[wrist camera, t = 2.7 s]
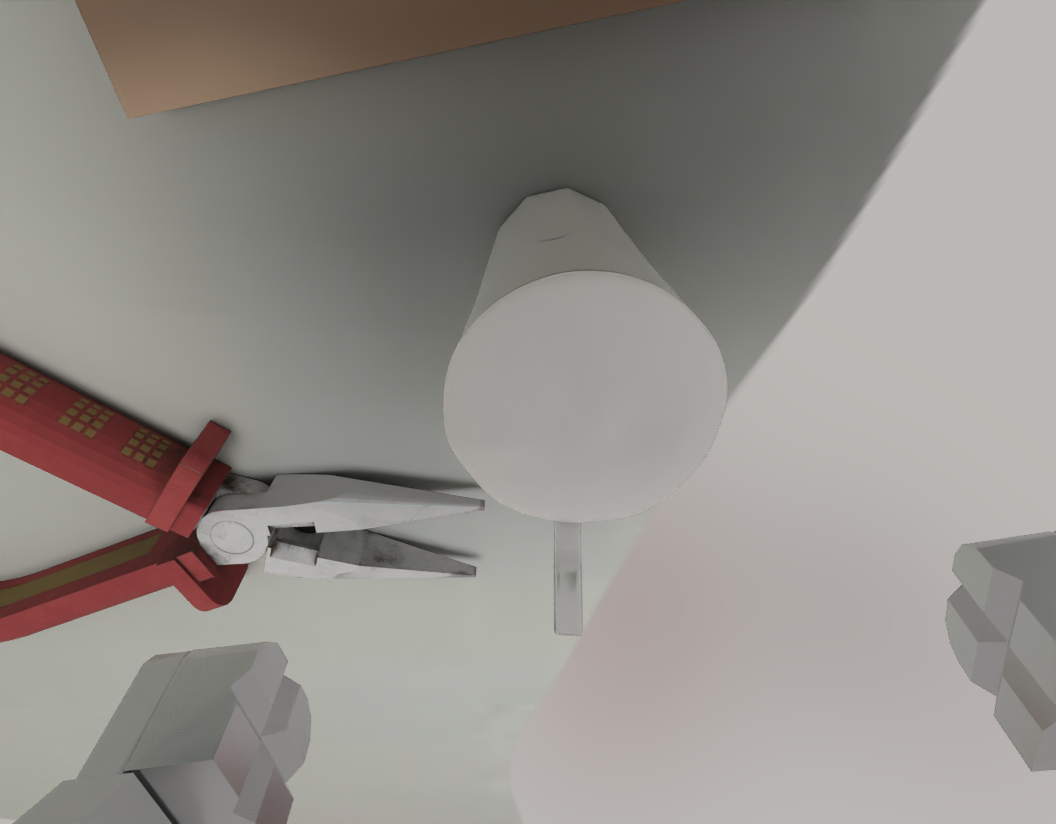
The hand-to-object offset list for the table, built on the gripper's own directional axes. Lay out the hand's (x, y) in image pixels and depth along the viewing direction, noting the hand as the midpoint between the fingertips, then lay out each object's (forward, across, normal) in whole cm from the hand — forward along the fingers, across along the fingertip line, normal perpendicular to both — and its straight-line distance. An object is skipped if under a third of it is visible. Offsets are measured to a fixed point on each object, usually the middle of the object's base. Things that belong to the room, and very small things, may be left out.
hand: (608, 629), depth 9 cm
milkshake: (+12, 0, -1) cm, 12 cm away
